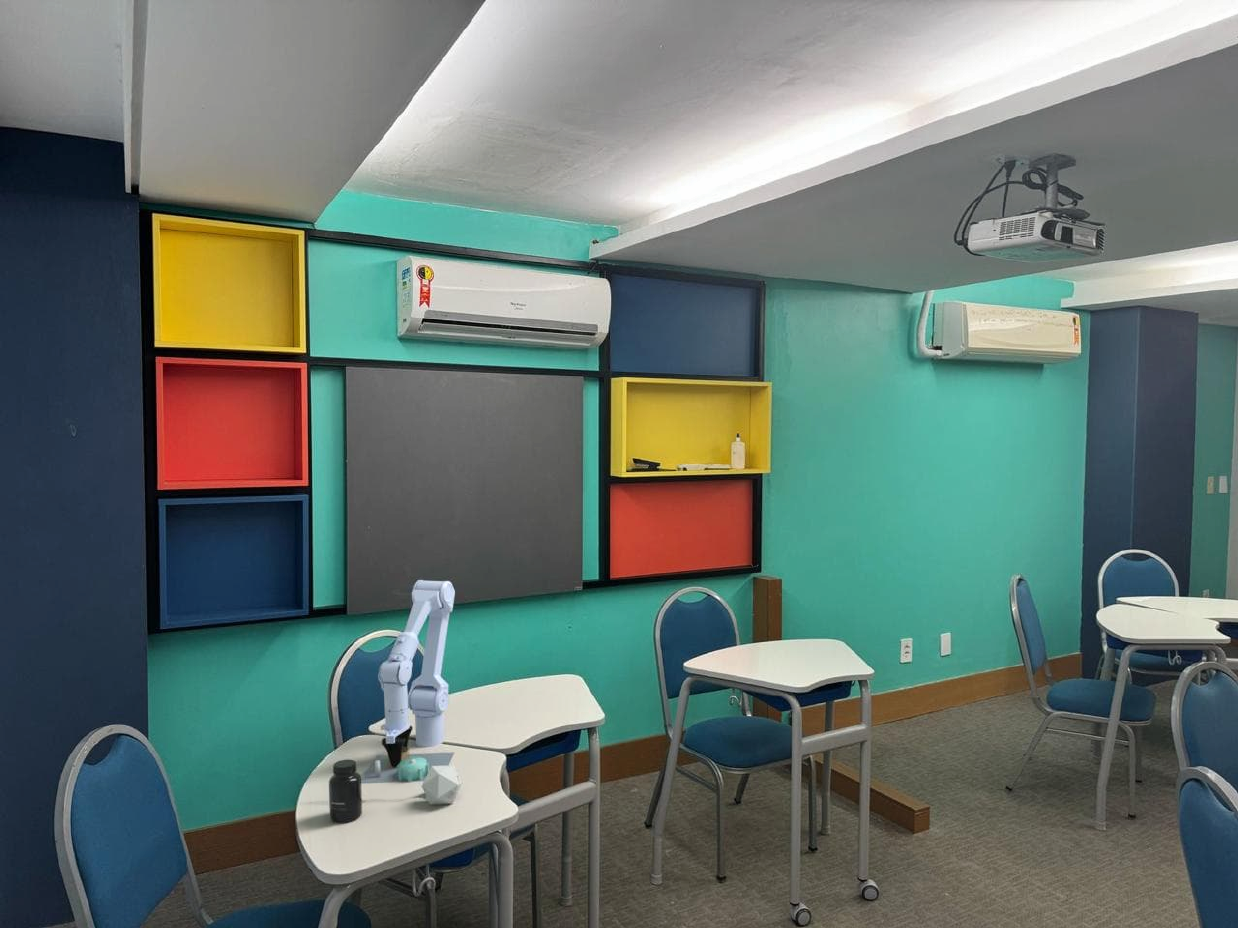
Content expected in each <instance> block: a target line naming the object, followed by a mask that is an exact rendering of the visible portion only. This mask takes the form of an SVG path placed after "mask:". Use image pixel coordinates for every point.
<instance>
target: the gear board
mask: <svg viewBox="0 0 1238 928" xmlns="http://www.w3.org/2000/svg"><path fill="white" fill-rule="evenodd" d="M454 754H455V752H453V751H452V752H432V753H431V752H430V753H429V752H428V753H425V752H423V753H409V757H410V758H407V759H404V760H402V761H401V762H400V763H399V765H397V767H391V766H389V765H388V760H387V754H377V755H376V756H375V757H374V758H373V760H372V761H371V763H370V764H369V765H368V767H367V769H366V770H365V772H364V773H363V775H362V776H361V784H378V783H379V784H381V783H382V784H383V783H386V784H387V783H407V782H408V783H412V782H424V780H425V778H426V776H427V774H428V772H429V770H430V768H431V766H449V765H450V763H451V761H452V758H453V756H454Z"/></svg>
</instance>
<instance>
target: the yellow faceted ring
mask: <svg viewBox="0 0 1238 928" xmlns="http://www.w3.org/2000/svg"><path fill="white" fill-rule="evenodd" d="M409 754H410V748H409V747H408V746H407V747H405V746H403V749H402V758H401V761H402V760H404V759H407V758H410V757H409ZM386 755H387V760H388V765H389V766H391V763H390V760H389V756H388V753H387V752H386ZM391 767H397V766H391Z"/></svg>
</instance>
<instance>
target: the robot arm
mask: <svg viewBox="0 0 1238 928" xmlns="http://www.w3.org/2000/svg"><path fill="white" fill-rule="evenodd" d="M455 596H456V591H455V589H454V586H453V583H452V582H451V581H450V580H441V581H440V580H424V579H418V580H417V581H416V582H415V584H414V585H413V587H412V592H411V600H412V603H413V604H412V606H411V610H410V614H409V616H408V618H407V619H408V620H407V622H406V625H405V627H404V628H405V629H404V631H403V632H401V633H400V634H398V635H397V637H396V639H395V642H394V644H393V647H392V649H391V651H390V654H389V656H388V658H387V660H386V661H384V662H382V664H381V665H380V667H379V669H378V674H377V678H378V681H379V682H380V687H381V690H382V692H383V698H384V699H383V701H384V702H383V703H384V724H382V725H380V730H381V731H383V730H384V732H385V737H383V738H382V739H381V744H382V746H383V747H384V749H385V751H386V754H387V753H388V756H389V760H390V763H391V766H397V765H399V763H400V762H401V758H402V749H403V746H405V747H407V748H408V745H409V739H410V736H411V733H412V731H413V726H412V725H411V723H410V721H409V710H410V711H411V712H412V715H414V723H415V724H414V726H415V745H416V746H418V747H420V748H433V747H436V746H439V745H441V744H443V743H444V741H445V739H444V736H445V733H446V732H445V731H446V730H445V714H444V712H445V711H446V710H447V708H448V705H449V703H450V696H449V686H450V685H449V683H447V681H446V680H444V679H443V677H442V675H441V674H442V670H443V669H442V668H443V660H444V655H445V647H446V641H447V633H448V627H449V620H450V619H449V618H450V613H452V612H453V608H454V602H455ZM428 616H429V617H428ZM427 618H429V620H428V626H427V630H426V631H427V633H426V638H425V645H424V651H423V659H422V666H421V674H420V675H419V676H417V678H415V679H414V680H413V681H412V682H411V686H410V690H409V691H408V683H409V682H410V680H411V678H412V674H413V673H412V672H413V664H414V662H413V659H414V656H415V655H416V651H417V649H418V647H419V644H420V642H419V638H418V636H419V633H420V632H421V630H422V627H423V625H424V624H425V622H426V620H427ZM432 687H434V688H432Z"/></svg>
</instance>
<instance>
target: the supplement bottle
mask: <svg viewBox="0 0 1238 928" xmlns="http://www.w3.org/2000/svg"><path fill="white" fill-rule="evenodd" d="M356 762H357V761H355V759H342V760H341V759H340V760H338V761H335V763H333V765H332V769H333V770H332V774H333V775H331V777H330V778H329V781H328V801H329V802H328V804H329V807H328V809H329V819H330V821H332V822H334V823H337V824H345V823H346V824H347V823H351V822H353V821H356V820H358V819H359V818H360V817H361V816H362V813H363V799H362V797H363V795H362V794H363V793H362V783H361V777H362V776H361V774H360V773H358V772H357V763H356Z"/></svg>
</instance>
